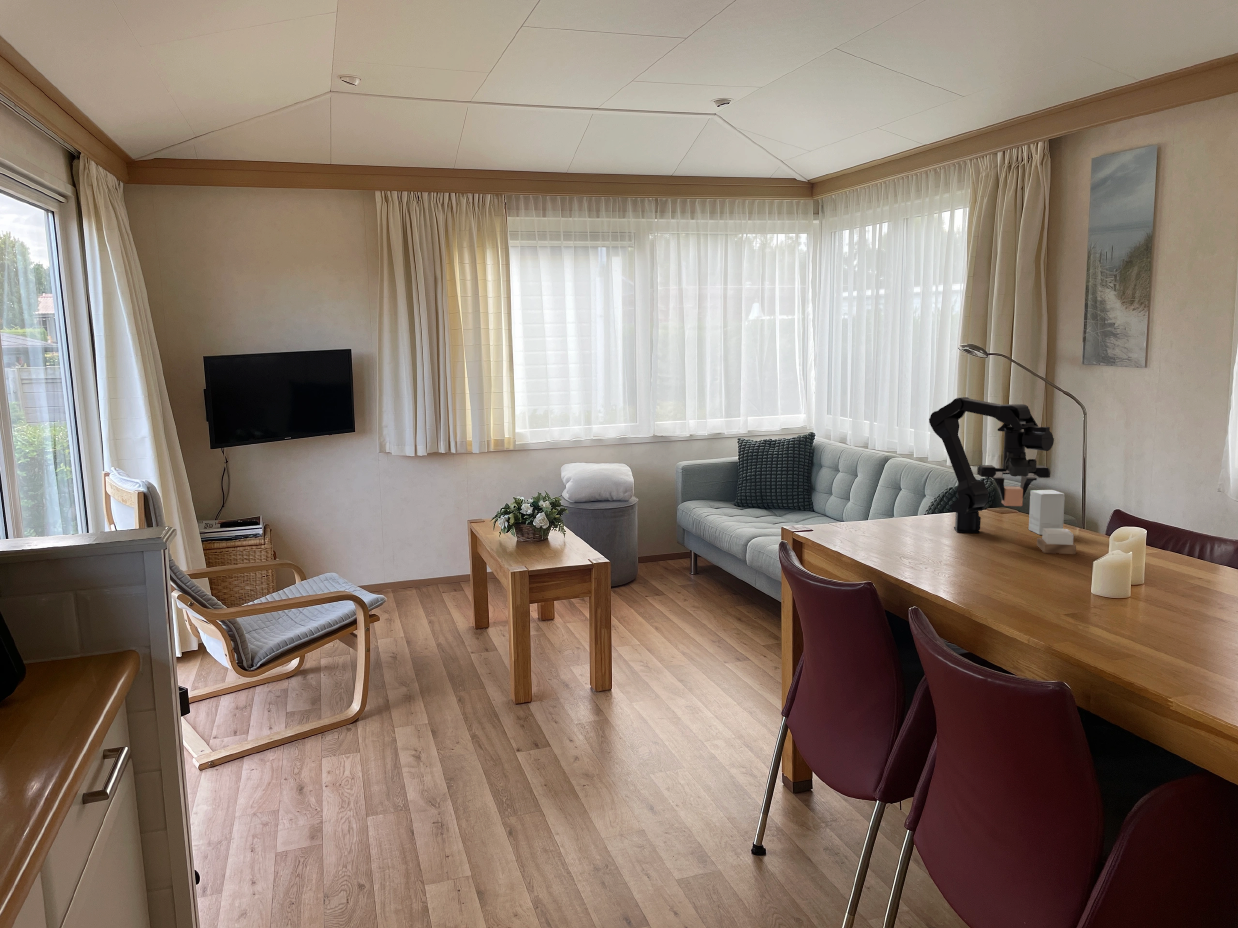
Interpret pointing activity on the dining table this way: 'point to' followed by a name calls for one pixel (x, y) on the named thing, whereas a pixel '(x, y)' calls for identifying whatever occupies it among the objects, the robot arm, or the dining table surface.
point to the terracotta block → (1013, 496)
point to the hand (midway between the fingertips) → (1011, 500)
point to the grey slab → (1057, 536)
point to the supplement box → (1046, 510)
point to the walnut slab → (1056, 547)
